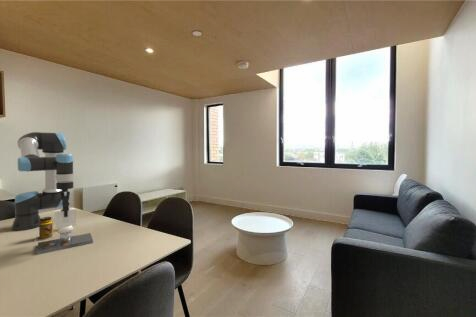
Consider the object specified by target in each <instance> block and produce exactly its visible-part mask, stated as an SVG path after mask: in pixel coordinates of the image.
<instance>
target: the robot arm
mask: <svg viewBox="0 0 476 317" xmlns="http://www.w3.org/2000/svg"><path fill="white" fill-rule="evenodd" d="M17 148H18V149H20V154H21V157H18V159H17V170H18V171H19V172H26V173H27V172H28V173H29V172H40V171H44V179H45V181H44V188H43V189H42V190H41V192H39V191H37V190H35V191H27V192H22V193H19V194H17V195H15V197H14V202H13V203H14V216H15V217H14V220H13V222H12V224H11V230H12V231H25V230H26V231H27V230H32V229H36V228H38V227H39V224H40V219H41V218H42V217H41V216H40V213H39V211H40V210H42V211H43V210H47V209H56V208H62V209H63V210H62V209H60V210H61V211H63V223H68V222H69V209H70V206H69V205H70V202H69V200H70V194H71V192H70V191H69V190H70V189H71V190H72V189H74V155H73V154H72V153H64V151H65V150H67V141H66V137H65V135H64V134H63V133H57V132H38V131H35V132H34V131H33V132H28V133H26V134H24V135H22V136H21V137H19V139H18V141H17ZM39 150H41V152H42V153H43V154H44V156H40V154H39Z"/></svg>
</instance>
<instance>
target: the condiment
mask: <svg viewBox="0 0 476 317" xmlns="http://www.w3.org/2000/svg"><path fill="white" fill-rule="evenodd" d="M40 218H41V219H40V224H39V229H38V230H39V235H38V236H36V237H35V238H34V240H33V242H37V241H38V242H39V241H44V240H45V241H46V240H52V239H53V238H54V236H55V233H54V232H53V230H54V229H53V221H52V217H51V216H44V217H40ZM53 233H54V234H53Z"/></svg>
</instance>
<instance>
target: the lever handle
mask: <svg viewBox="0 0 476 317" xmlns="http://www.w3.org/2000/svg"><path fill="white" fill-rule="evenodd" d="M61 210H63V209H57V210H56V209H55V210H54V218H55V219H54V220H55V221H54V224H55V226H54V227H55V229H53V233H57V234H60V233H68V232H71V233H72V232H73V231H74V226H77V220H76V219H77V217H76V216H77V213H76V210H77V209H76V208H75V207H72V208H70V207H69V222H68V223H63V211H61Z"/></svg>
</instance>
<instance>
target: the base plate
mask: <svg viewBox="0 0 476 317" xmlns="http://www.w3.org/2000/svg"><path fill="white" fill-rule="evenodd" d="M59 235H60V236H59V237H60V238H57V239H49V240H45V241H44V240H43V241H40V242H39V241H38V243H37V248H36V251H35V252H36V253H35V254H36V255H40V254H45V253H50V252H55V251H60V250H64V249H65V250H66V249H69V248H74V247H79V246H84V245H89V244H93V243H94V239H93V236H92V234H91V232H90V233H89V232H88V233H84V234H77V235H72V231H71V232H68V233H59Z"/></svg>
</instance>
